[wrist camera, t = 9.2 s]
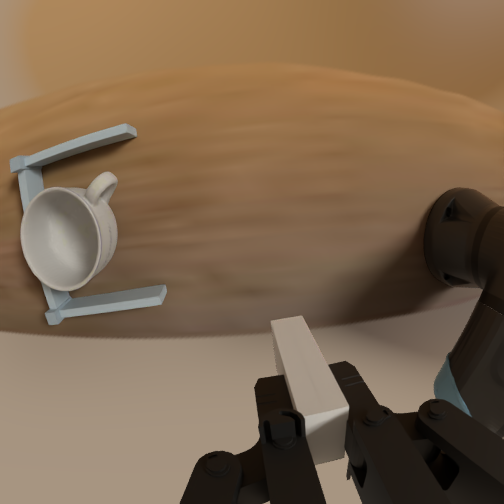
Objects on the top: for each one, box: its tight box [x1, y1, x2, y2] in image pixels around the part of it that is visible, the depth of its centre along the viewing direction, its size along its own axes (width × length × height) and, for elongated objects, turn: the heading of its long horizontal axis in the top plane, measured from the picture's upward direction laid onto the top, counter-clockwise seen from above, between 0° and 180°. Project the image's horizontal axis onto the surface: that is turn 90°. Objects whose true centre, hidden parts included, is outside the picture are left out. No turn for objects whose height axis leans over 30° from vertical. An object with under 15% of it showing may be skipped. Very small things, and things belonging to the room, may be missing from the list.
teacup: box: [20, 172, 118, 291], centre depth 30 cm, size 14×11×8 cm
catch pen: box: [10, 123, 167, 325], centre depth 31 cm, size 15×21×5 cm
